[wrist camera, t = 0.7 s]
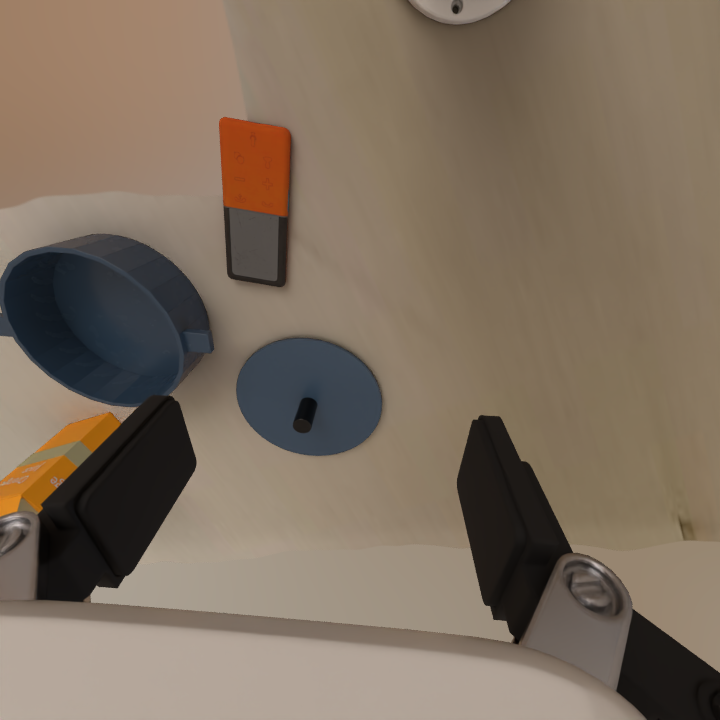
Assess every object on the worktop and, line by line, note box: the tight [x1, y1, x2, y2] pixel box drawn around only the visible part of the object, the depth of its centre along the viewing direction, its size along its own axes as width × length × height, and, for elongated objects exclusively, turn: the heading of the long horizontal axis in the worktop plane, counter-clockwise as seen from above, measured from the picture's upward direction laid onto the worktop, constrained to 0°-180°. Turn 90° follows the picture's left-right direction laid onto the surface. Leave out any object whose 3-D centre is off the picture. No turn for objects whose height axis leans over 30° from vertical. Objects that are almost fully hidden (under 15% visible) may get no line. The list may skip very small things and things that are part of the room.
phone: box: [219, 117, 291, 287], centre depth 34 cm, size 6×1×15 cm
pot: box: [0, 234, 214, 407], centre depth 39 cm, size 19×24×6 cm
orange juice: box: [0, 412, 121, 517], centre depth 45 cm, size 8×9×20 cm
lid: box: [236, 338, 382, 456], centre depth 45 cm, size 20×20×6 cm
